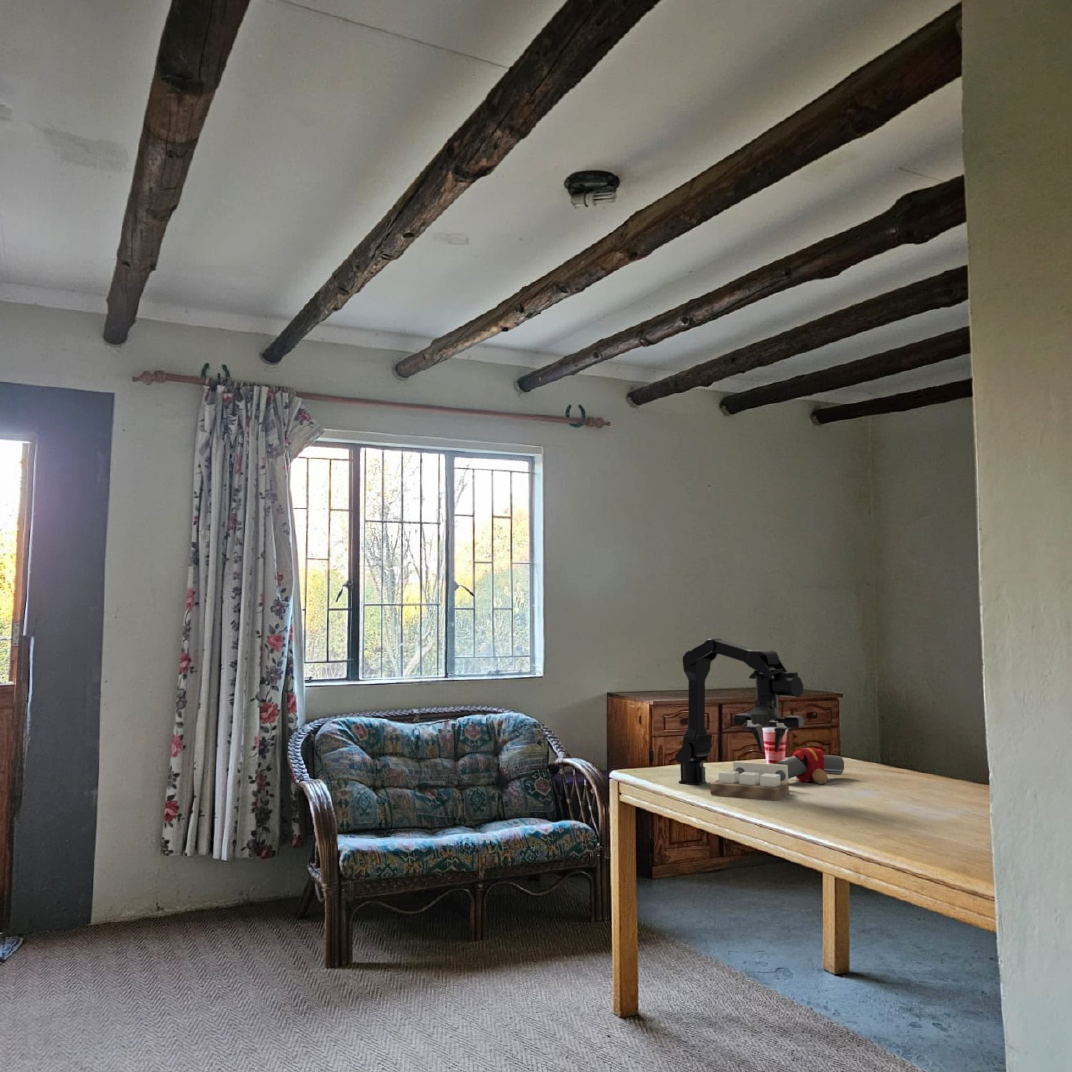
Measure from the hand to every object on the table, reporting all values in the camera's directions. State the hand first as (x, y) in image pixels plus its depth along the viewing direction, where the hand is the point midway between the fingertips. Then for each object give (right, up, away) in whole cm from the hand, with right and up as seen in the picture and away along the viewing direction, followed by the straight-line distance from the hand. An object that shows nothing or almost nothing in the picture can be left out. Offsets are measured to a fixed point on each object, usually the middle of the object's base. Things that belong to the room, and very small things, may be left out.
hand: (769, 751), depth 256 cm
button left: (-10, -11, +5) cm, 16 cm away
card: (0, -13, +11) cm, 17 cm away
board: (-5, -12, +2) cm, 13 cm away
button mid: (-5, -11, +2) cm, 12 cm away
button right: (0, -10, -1) cm, 10 cm away
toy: (+17, -14, +20) cm, 30 cm away
